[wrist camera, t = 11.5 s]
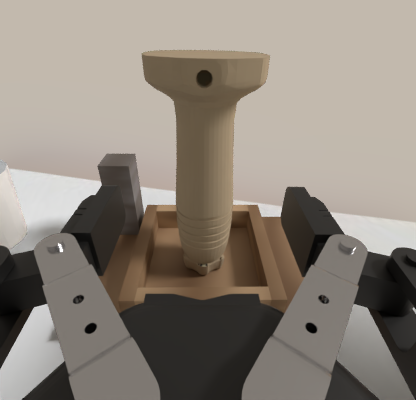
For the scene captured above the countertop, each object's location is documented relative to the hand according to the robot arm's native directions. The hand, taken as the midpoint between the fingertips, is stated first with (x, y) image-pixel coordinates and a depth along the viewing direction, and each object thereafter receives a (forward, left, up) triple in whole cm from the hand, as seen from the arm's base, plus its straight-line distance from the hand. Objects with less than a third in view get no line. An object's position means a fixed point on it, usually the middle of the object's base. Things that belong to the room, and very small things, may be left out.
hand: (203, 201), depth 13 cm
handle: (0, -5, -9) cm, 10 cm away
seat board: (0, -5, -10) cm, 11 cm away
